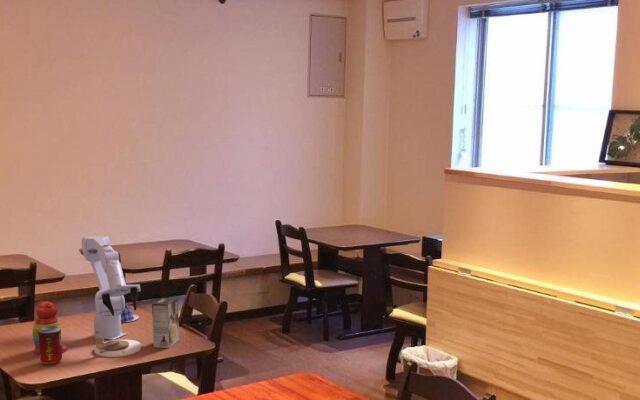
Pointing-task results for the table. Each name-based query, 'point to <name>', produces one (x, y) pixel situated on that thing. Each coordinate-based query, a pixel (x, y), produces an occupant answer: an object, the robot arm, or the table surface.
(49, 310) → the stacking bear
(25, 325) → the table surface
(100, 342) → the dial
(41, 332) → the soda can
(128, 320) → the blue checkered cloth
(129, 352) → the base
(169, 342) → the coffee box
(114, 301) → the robot arm
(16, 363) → the table surface
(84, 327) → the table surface
